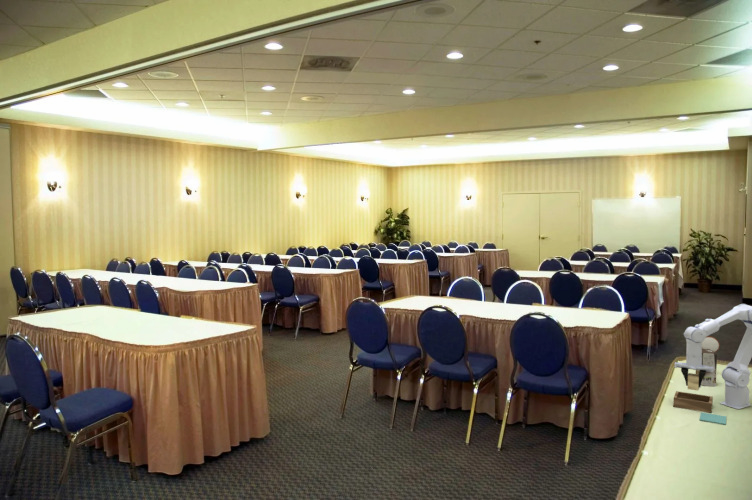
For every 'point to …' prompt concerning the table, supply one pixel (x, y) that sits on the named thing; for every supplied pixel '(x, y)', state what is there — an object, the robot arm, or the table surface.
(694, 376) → the maple block
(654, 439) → the table surface
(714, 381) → the coffee box
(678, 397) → the walnut crate
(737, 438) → the table surface
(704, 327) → the robot arm
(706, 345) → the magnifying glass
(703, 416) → the teal mat
